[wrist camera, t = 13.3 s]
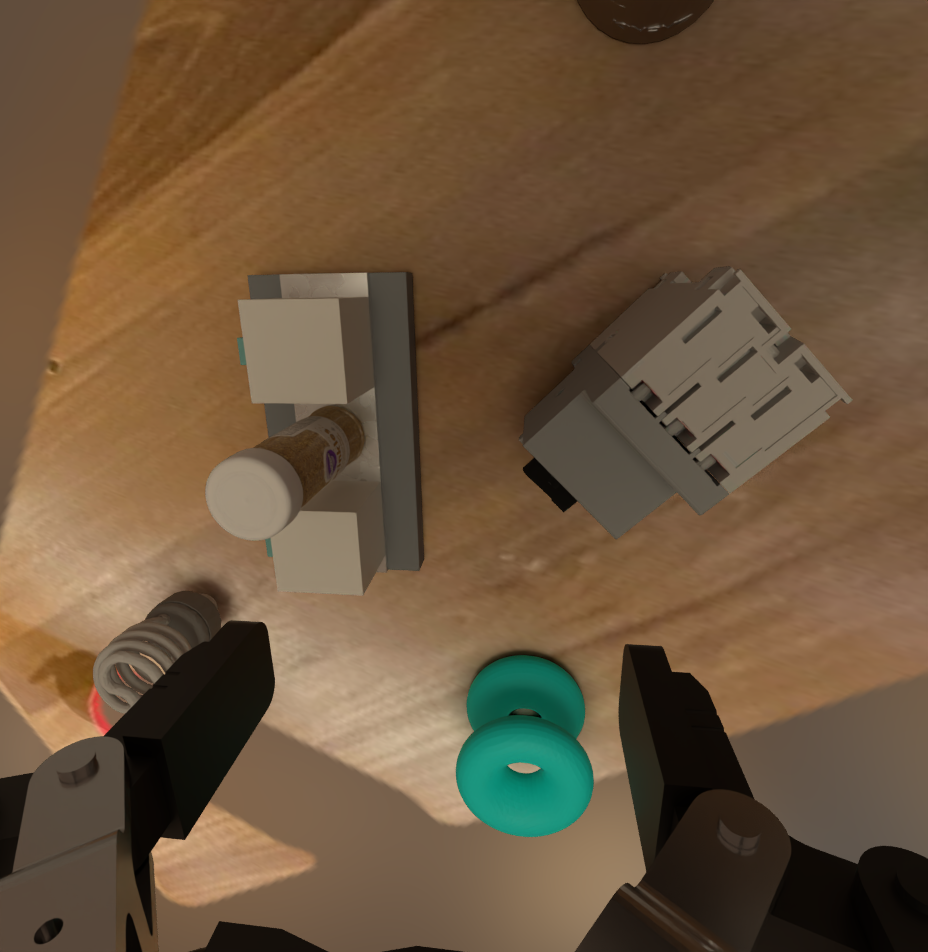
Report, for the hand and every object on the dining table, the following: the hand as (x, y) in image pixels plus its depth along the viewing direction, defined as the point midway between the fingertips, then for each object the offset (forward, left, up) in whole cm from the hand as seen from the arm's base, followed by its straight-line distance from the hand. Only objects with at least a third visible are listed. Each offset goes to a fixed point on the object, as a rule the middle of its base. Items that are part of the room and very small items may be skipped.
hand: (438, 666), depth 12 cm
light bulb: (+18, -26, -30) cm, 44 cm away
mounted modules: (+2, -12, -28) cm, 30 cm away
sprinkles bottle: (+2, -12, -28) cm, 30 cm away
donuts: (+26, +2, -30) cm, 40 cm away
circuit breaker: (-1, +8, -30) cm, 31 cm away
